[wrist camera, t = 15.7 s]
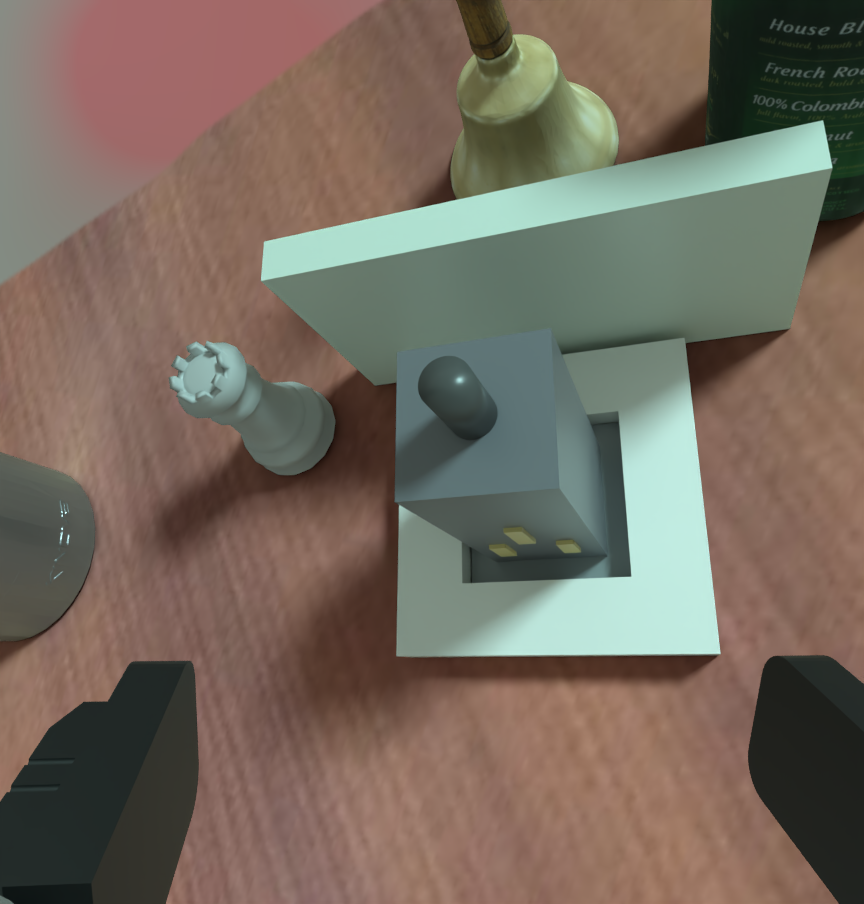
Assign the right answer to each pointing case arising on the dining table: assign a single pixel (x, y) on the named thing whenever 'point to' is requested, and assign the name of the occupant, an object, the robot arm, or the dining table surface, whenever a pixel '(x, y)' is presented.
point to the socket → (578, 367)
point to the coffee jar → (792, 81)
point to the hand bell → (522, 111)
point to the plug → (499, 448)
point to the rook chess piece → (255, 407)
